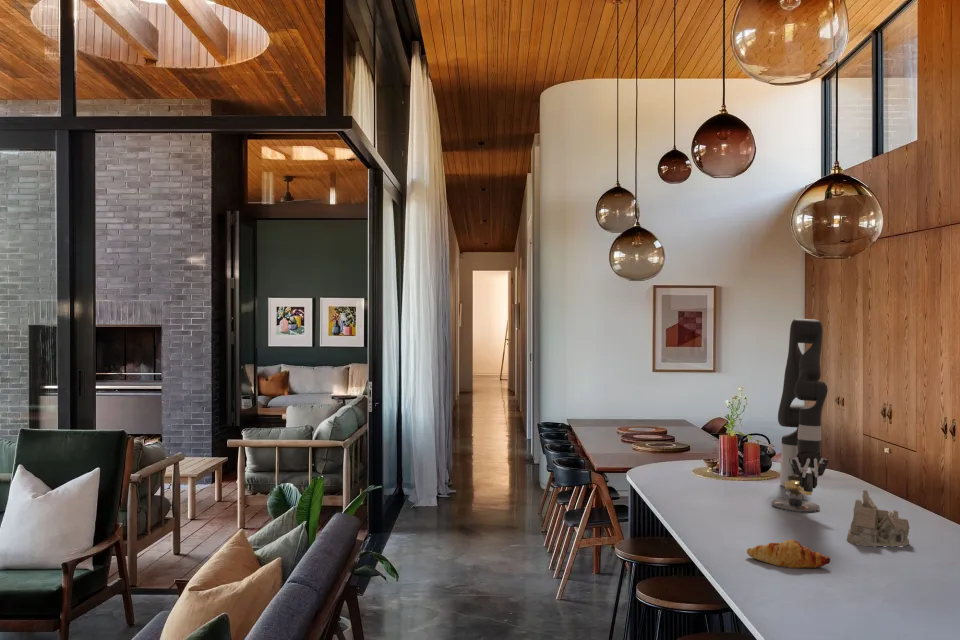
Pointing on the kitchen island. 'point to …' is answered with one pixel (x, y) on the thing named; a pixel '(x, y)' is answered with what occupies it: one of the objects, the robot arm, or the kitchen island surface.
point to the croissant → (788, 555)
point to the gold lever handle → (796, 487)
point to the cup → (794, 479)
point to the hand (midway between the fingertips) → (807, 487)
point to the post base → (795, 503)
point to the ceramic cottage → (877, 525)
